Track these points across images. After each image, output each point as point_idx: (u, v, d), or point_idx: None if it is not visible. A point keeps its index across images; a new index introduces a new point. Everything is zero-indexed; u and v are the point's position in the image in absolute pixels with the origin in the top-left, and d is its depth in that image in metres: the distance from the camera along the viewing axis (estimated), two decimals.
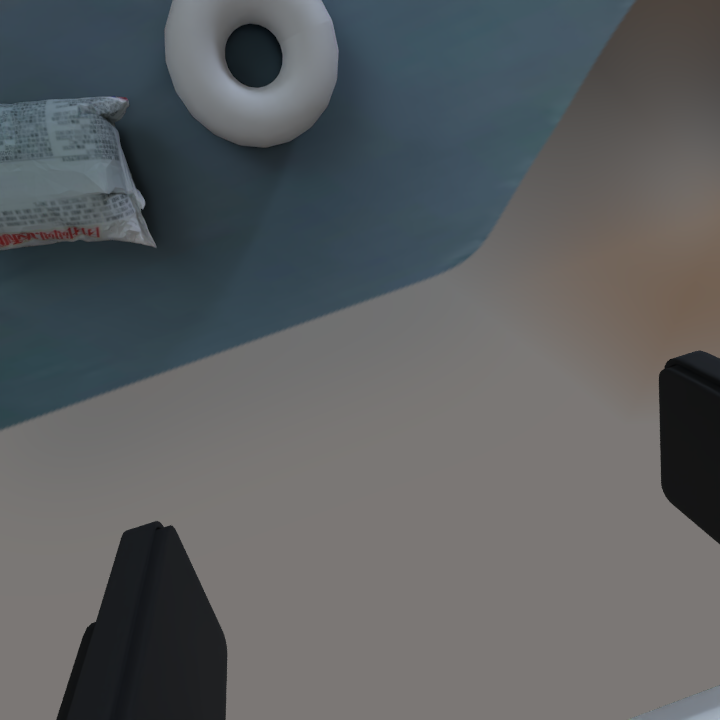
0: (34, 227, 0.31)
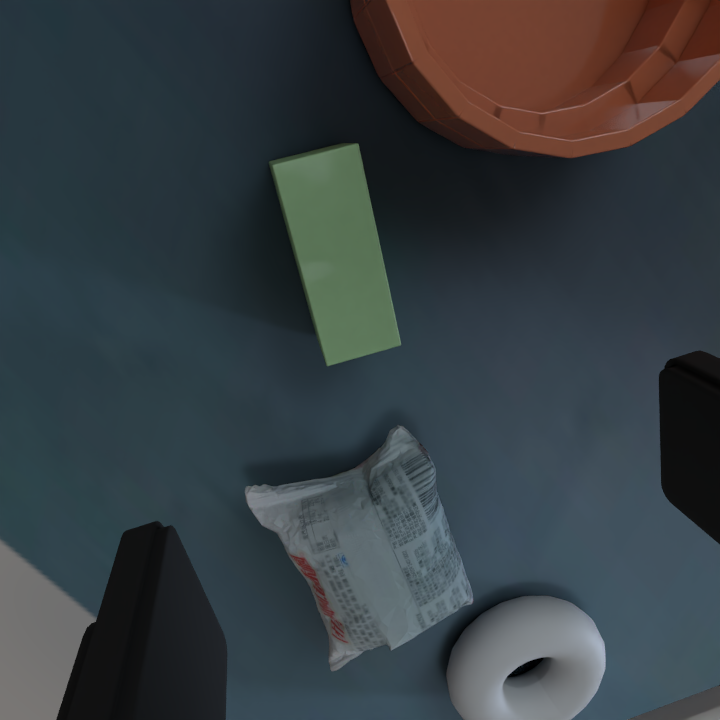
0: (333, 599, 0.26)
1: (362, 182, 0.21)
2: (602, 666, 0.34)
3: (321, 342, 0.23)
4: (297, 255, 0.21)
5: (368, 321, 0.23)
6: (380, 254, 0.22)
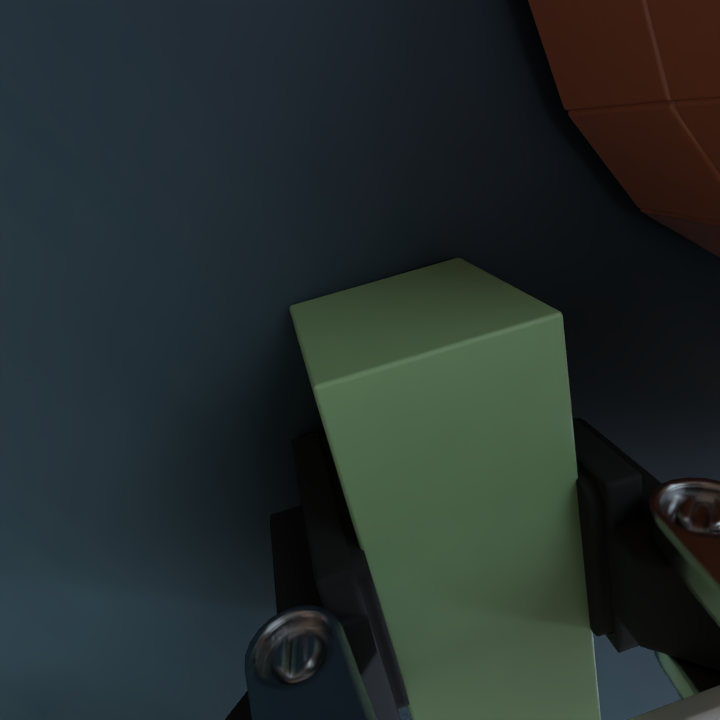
0: None
1: (562, 410, 0.07)
2: None
3: None
4: None
5: (537, 697, 0.09)
6: (583, 564, 0.08)
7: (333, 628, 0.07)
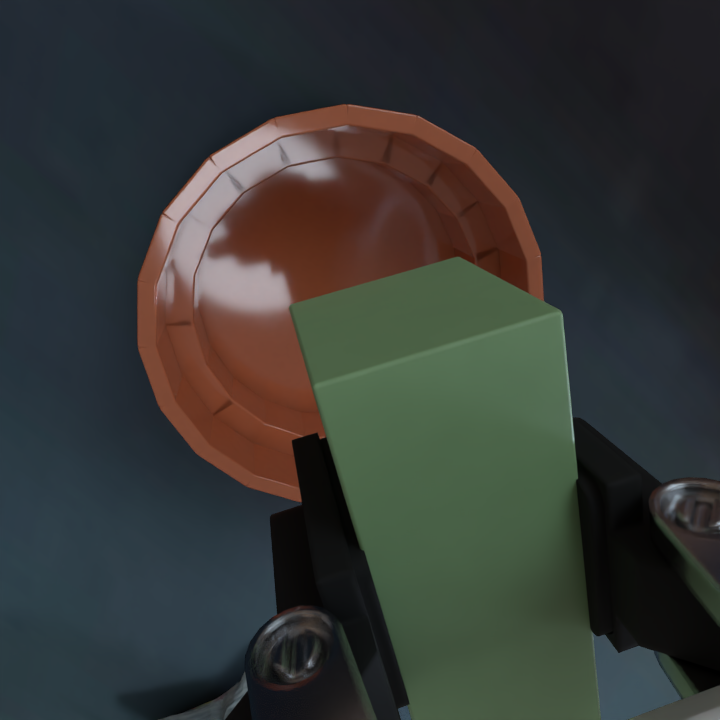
0: None
1: (562, 409, 0.07)
2: None
3: None
4: None
5: (537, 696, 0.09)
6: (583, 563, 0.08)
7: (333, 628, 0.07)
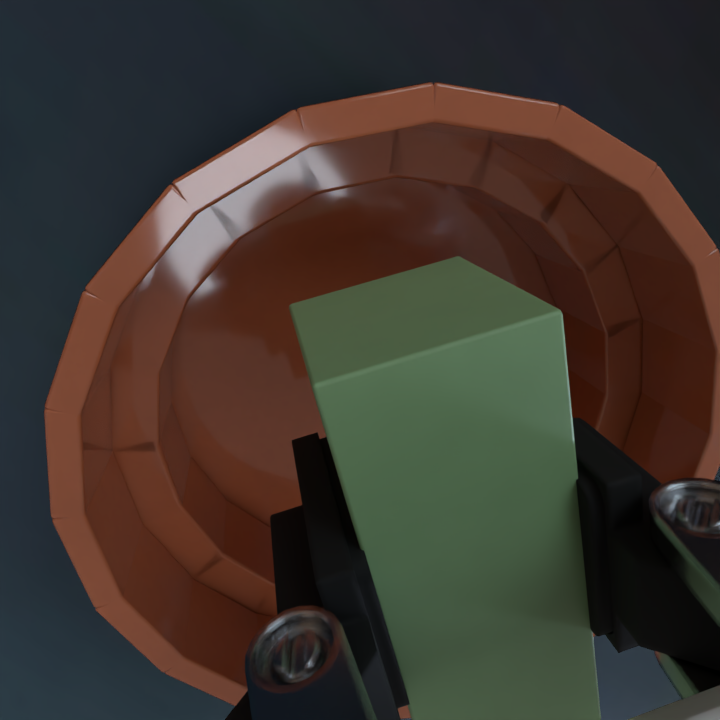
0: None
1: (562, 409, 0.07)
2: None
3: None
4: (376, 591, 0.08)
5: (537, 696, 0.09)
6: (583, 563, 0.08)
7: (333, 628, 0.07)
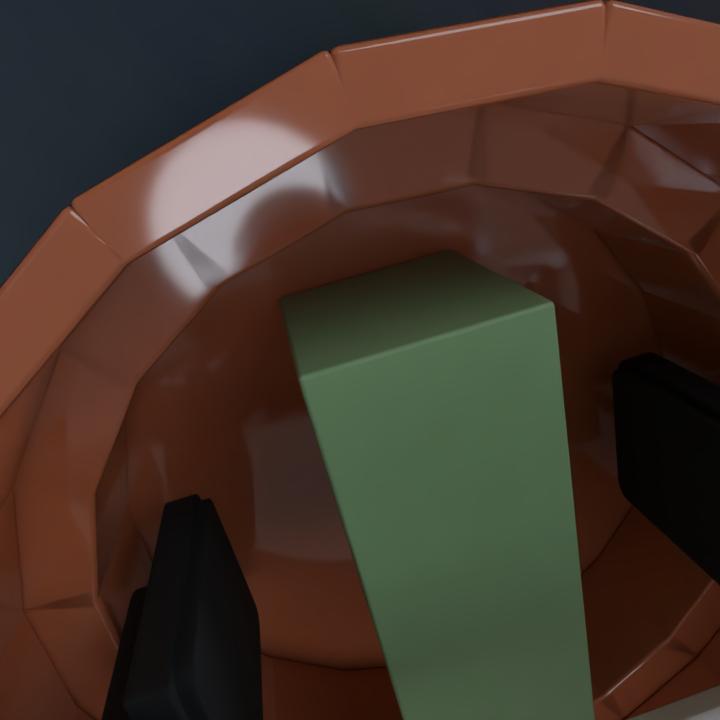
0: None
1: (554, 402, 0.07)
2: None
3: None
4: (365, 589, 0.08)
5: (530, 695, 0.09)
6: (576, 560, 0.08)
7: None
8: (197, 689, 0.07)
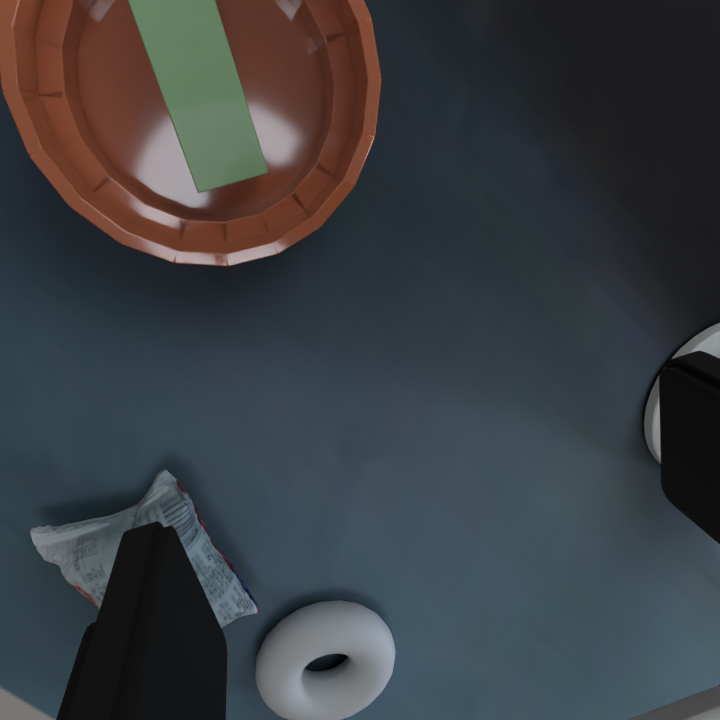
0: None
1: (211, 2, 0.22)
2: (387, 658, 0.39)
3: (190, 167, 0.24)
4: (156, 76, 0.23)
5: (233, 147, 0.24)
6: (237, 77, 0.23)
7: None
8: None
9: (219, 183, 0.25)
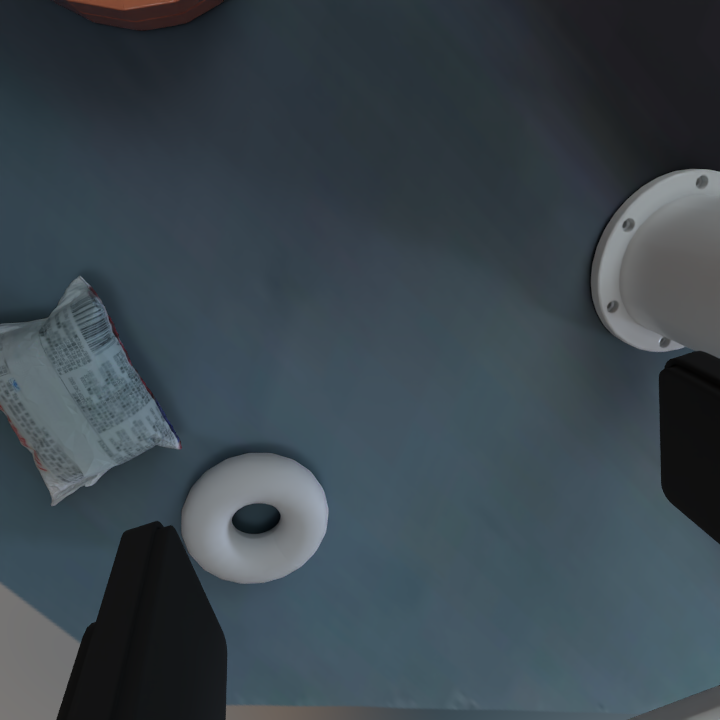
0: (18, 424, 0.31)
1: None
2: (318, 513, 0.38)
3: None
4: None
5: None
6: None
7: None
8: None
9: None
